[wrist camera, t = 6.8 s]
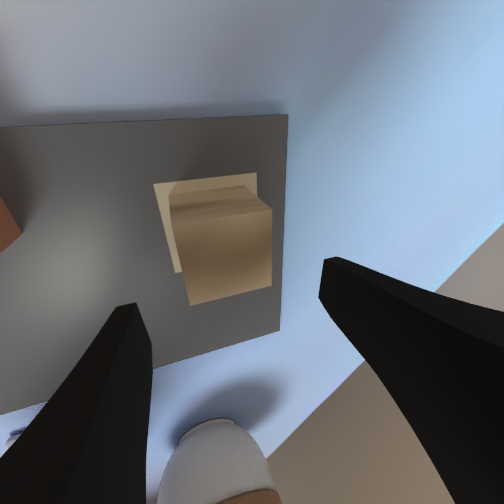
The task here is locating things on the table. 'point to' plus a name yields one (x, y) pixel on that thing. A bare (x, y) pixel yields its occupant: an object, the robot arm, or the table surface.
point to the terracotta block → (7, 227)
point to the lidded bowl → (217, 468)
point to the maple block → (222, 242)
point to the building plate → (123, 239)
